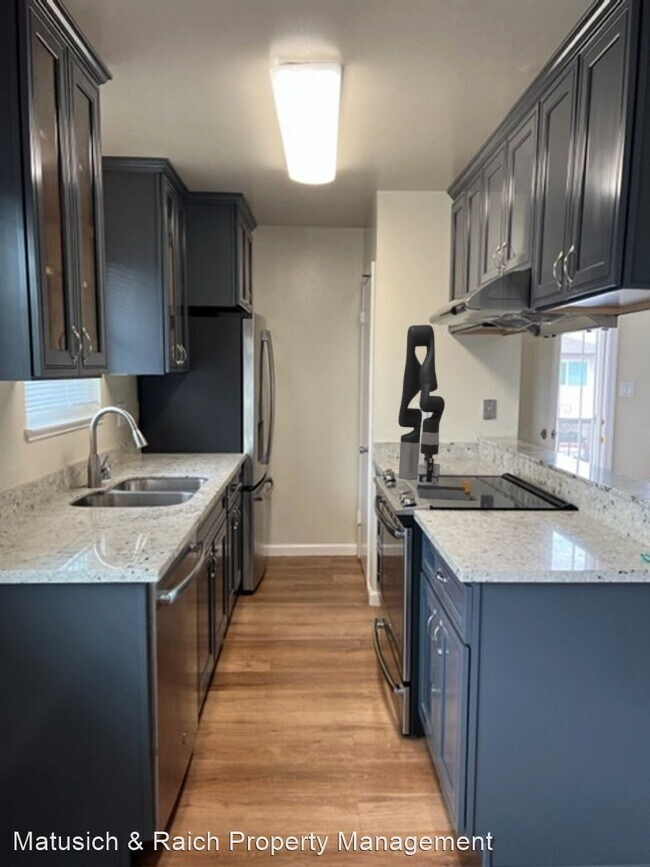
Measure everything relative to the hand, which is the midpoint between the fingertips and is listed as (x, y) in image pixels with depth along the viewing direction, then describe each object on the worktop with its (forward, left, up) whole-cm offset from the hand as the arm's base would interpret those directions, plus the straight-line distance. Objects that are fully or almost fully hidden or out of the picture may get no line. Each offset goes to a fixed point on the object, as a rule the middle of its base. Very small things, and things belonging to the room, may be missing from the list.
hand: (427, 480), depth 256 cm
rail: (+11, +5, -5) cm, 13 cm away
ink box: (0, 0, -5) cm, 5 cm away
